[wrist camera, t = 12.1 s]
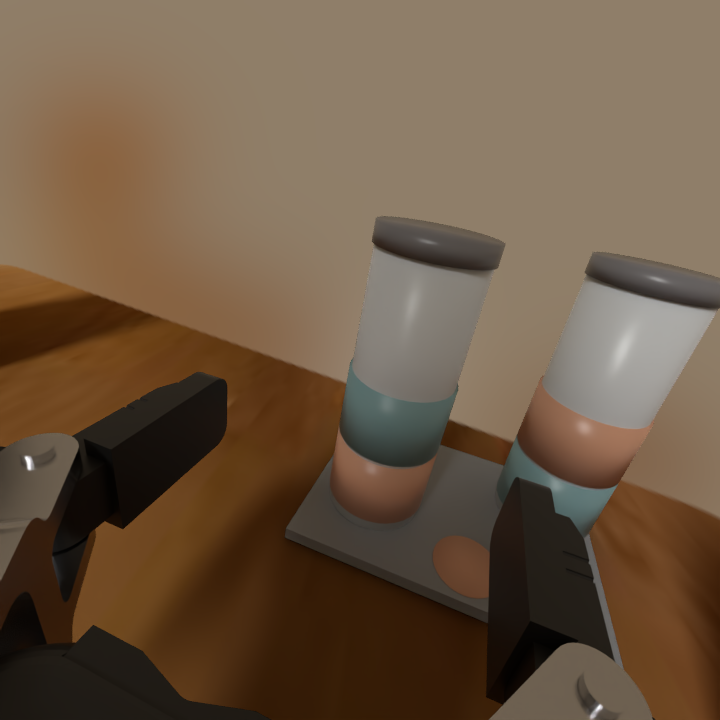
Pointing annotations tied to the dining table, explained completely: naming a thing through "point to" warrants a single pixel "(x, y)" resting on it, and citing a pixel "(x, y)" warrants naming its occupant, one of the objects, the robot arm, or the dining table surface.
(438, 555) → the slate card
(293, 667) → the dining table surface
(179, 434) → the robot arm
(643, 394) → the twin tube
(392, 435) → the slim tube
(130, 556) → the dining table surface
